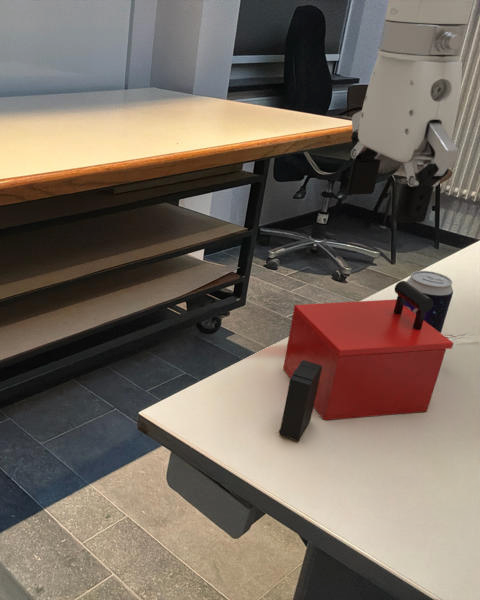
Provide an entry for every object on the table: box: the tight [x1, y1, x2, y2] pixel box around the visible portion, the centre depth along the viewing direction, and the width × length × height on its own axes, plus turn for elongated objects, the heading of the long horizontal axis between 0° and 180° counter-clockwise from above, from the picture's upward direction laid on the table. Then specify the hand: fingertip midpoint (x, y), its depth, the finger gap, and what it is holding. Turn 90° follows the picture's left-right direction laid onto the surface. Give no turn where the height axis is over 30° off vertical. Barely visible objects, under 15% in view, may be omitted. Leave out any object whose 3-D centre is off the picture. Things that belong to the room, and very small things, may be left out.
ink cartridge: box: [278, 360, 322, 442], centre depth 76 cm, size 5×2×8 cm, turn 147°
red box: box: [282, 310, 447, 421], centre depth 84 cm, size 13×11×9 cm
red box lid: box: [293, 280, 454, 356], centre depth 81 cm, size 14×11×5 cm
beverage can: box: [404, 270, 454, 334], centre depth 90 cm, size 6×6×12 cm
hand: (382, 206), depth 75 cm, fingers open, 9 cm apart
